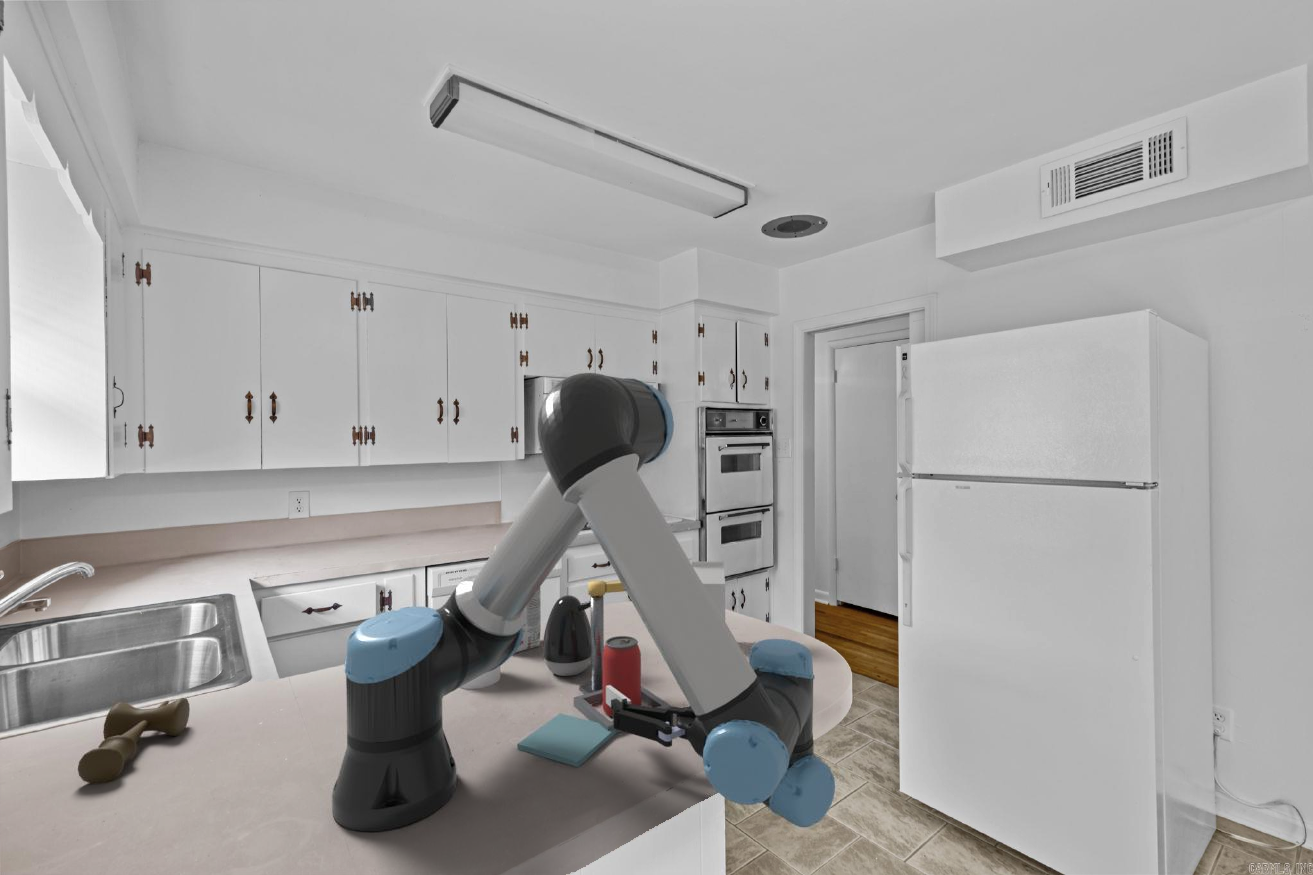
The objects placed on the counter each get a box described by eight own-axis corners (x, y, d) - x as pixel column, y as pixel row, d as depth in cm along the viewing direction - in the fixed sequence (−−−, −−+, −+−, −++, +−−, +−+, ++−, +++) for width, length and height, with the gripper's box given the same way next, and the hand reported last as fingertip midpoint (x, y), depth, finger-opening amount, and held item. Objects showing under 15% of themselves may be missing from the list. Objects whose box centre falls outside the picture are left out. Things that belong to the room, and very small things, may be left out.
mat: (578, 767, 86) (578, 761, 86) (517, 749, 91) (517, 743, 91) (616, 732, 96) (616, 727, 96) (560, 717, 101) (560, 713, 101)
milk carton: (725, 652, 130) (725, 565, 130) (692, 652, 131) (692, 565, 130) (722, 640, 138) (722, 558, 137) (691, 640, 138) (690, 558, 137)
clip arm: (668, 596, 117) (668, 575, 117) (673, 601, 114) (673, 578, 113) (586, 603, 112) (586, 581, 112) (590, 608, 109) (589, 585, 109)
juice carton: (526, 637, 140) (526, 534, 140) (545, 646, 134) (544, 539, 134) (489, 647, 134) (488, 540, 133) (507, 657, 128) (506, 545, 128)
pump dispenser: (585, 683, 115) (585, 604, 114) (534, 679, 117) (533, 601, 116) (601, 663, 125) (600, 590, 124) (553, 659, 127) (553, 587, 126)
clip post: (615, 693, 110) (615, 596, 110) (591, 699, 108) (591, 601, 107) (602, 683, 115) (602, 590, 114) (579, 689, 112) (578, 594, 112)
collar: (672, 715, 102) (672, 706, 102) (607, 735, 95) (607, 726, 95) (633, 688, 112) (633, 680, 112) (573, 705, 105) (573, 697, 105)
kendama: (54, 795, 81) (133, 722, 100) (140, 784, 84) (201, 715, 103) (54, 751, 81) (133, 686, 100) (140, 742, 84) (201, 681, 103)
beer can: (648, 707, 105) (648, 639, 104) (626, 723, 99) (626, 651, 99) (617, 698, 108) (617, 632, 108) (594, 713, 103) (594, 643, 102)
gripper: (650, 799, 74) (575, 727, 91) (794, 741, 87) (705, 688, 105) (650, 738, 74) (574, 678, 91) (795, 689, 87) (705, 645, 105)
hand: (644, 683), depth 98 cm, fingers open, 13 cm apart
